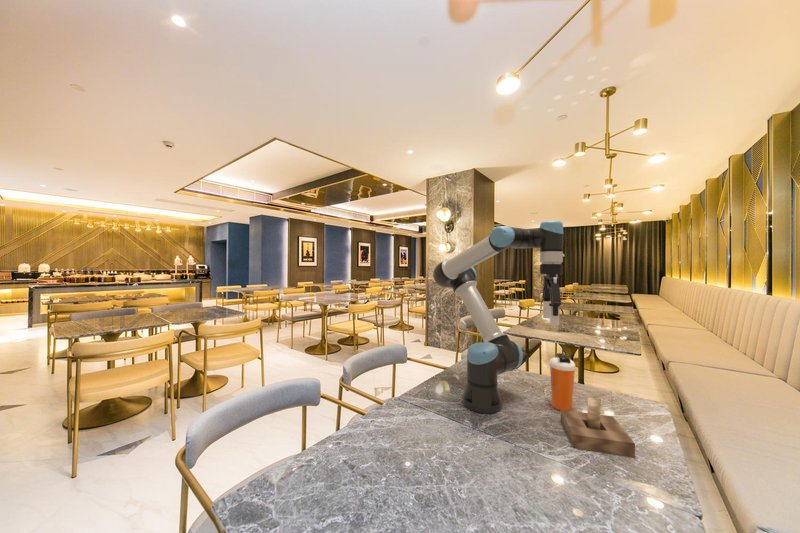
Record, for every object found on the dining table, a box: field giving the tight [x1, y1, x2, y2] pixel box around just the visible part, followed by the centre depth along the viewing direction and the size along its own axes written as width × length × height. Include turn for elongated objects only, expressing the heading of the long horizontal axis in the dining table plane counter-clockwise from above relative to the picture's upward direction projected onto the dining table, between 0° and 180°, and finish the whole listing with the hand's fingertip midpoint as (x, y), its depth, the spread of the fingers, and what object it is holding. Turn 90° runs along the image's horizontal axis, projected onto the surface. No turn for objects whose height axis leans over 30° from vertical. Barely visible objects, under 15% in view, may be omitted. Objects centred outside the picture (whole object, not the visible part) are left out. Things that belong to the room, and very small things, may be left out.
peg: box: [587, 397, 602, 430], centre depth 97 cm, size 4×4×12 cm
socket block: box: [560, 410, 636, 458], centre depth 97 cm, size 16×16×4 cm
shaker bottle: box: [549, 352, 576, 411], centre depth 117 cm, size 9×9×20 cm
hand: (550, 321), depth 110 cm, fingers open, 13 cm apart
